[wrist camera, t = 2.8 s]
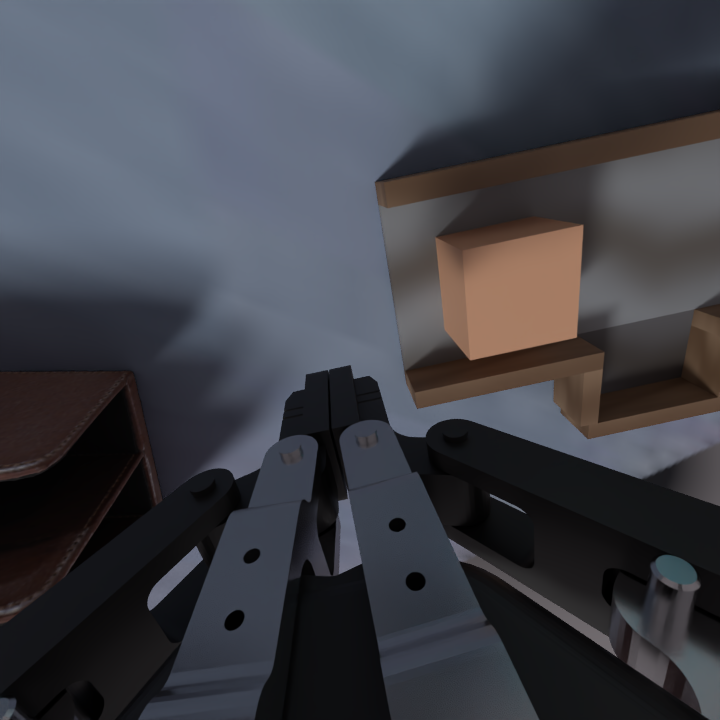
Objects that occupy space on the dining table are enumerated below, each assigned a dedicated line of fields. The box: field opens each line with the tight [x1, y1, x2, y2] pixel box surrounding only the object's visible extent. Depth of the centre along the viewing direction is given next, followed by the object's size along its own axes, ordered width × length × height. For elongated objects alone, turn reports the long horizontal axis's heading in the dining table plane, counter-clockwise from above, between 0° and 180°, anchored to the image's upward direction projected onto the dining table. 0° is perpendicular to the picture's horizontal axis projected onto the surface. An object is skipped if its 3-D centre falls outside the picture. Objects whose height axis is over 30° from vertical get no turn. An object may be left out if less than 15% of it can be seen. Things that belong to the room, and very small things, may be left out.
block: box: [435, 216, 583, 360], centre depth 18 cm, size 5×5×4 cm
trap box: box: [375, 110, 720, 439], centre depth 19 cm, size 20×32×3 cm, turn 101°
